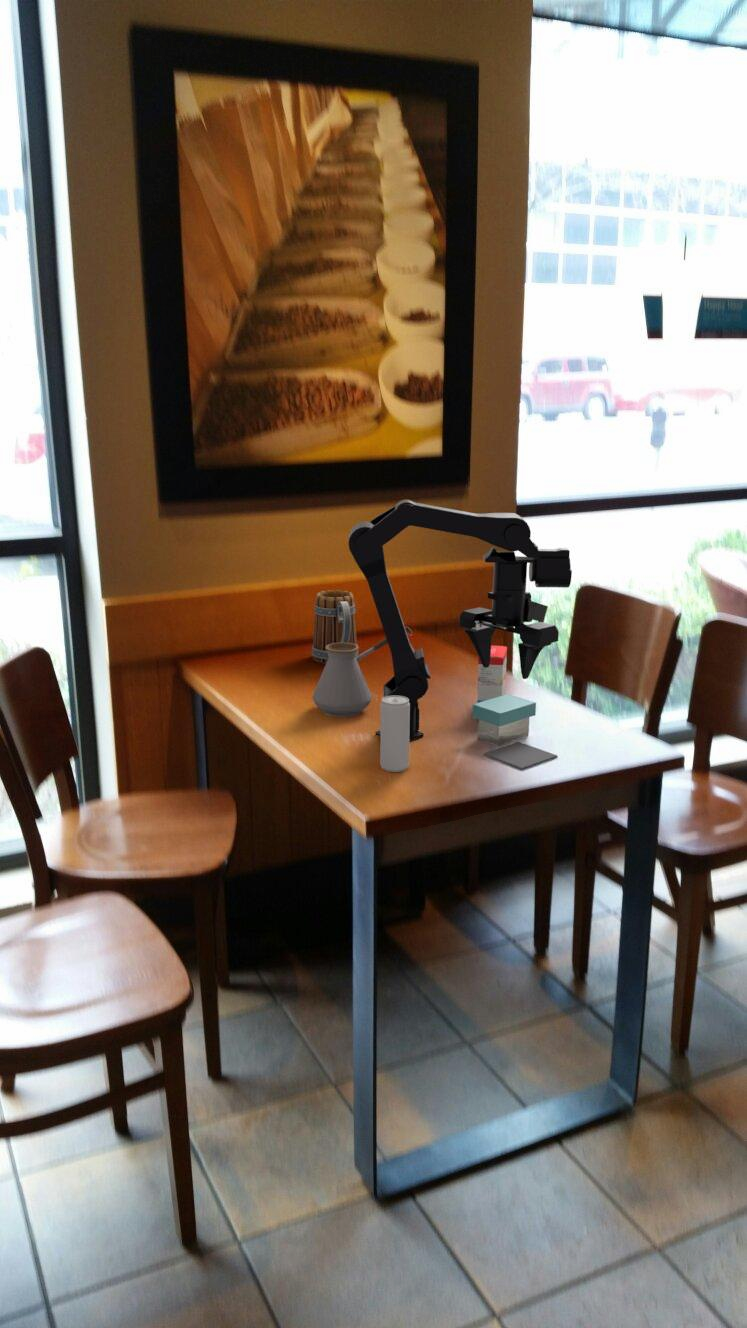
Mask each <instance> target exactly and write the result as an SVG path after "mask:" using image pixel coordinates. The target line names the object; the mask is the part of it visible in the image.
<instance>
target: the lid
mask: <svg viewBox="0 0 747 1328" xmlns="http://www.w3.org/2000/svg"><path fill="white" fill-rule="evenodd" d="M536 711H537V702H536V701H533V700H529V699H526V698H522V697H521V696H517V695H513V694H509V693H507V694H505V695H504V696H500V697H497V698H493V699H490V700H486V701H483V702H479V703H477V702H476V703H473V704H472V718H474V719H477V720H478V719H480V720H483V721H486V722H488V723H491V724H494V725H497V726H503V725H506V724H509V723H512V722H515V721H519V720H522V719H525V718H528V717H529V718H531V717H535V716H536V713H537V712H536Z"/></svg>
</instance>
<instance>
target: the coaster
mask: <svg viewBox="0 0 747 1328" xmlns="http://www.w3.org/2000/svg"><path fill="white" fill-rule="evenodd" d="M482 756H484V757H487V758H489V759H492V760H494V761H497V762H500V763H502V764H505V765H507V766H509V767H512V768H514V769H517V770H521V771H524V770H526V769H530V768H533V767H535V766H537V765H540V764H543V763H547V762H548V761H552V760H554V759H558V755H557V754H555V753H551V752H548V751H546V750H543V749H540V748H537V747H535V746H532V745H529V744H526V743H524V742H521V741H516V742H513V743H512V742H511V743H510V744H507V745H503V746H499V747H498V748H494V749H492V750H488V751H486V752H483V753H482Z"/></svg>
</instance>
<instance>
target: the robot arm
mask: <svg viewBox="0 0 747 1328" xmlns="http://www.w3.org/2000/svg"><path fill="white" fill-rule="evenodd" d="M409 526H412V527H417V528H424V529H430V530H435V531H440V532H445V533H450V534H456V535H462V536H469V537H473V538H476V539H479V540H481V541H484V542H486V543H489V544H491V545H493V546H491V548H490V549H489V551H487V552H486V553H485V554H483V556H482V558H483V561H484V562H485V563H487V564H489V563H492V564H493V580H492V591H489V592H487V599H489V600H491V601H492V602H491V609H488V608H485V607H475V608H474V607H473V608H469V609H465V610H462V612H460V615H459V616H458V621H459V622H458V626H459V627H461V628H464V629H463V632H464V633H466V634H467V636H468V638H469V640H470V641H471V643H472V645H473V647H474V649H475V651H476V654H477V655H478V658H480V660H481V662H482V665H483V667H484V668H487V667H489V664H490V656H491V646H492V638H493V635H494V634H495V632H496V630H502V631H504V632H509V633H513V634H516V635H519V639H520V640H521V642H520V643H518V655H519V656H518V657H519V664H520V672H521V673H520V674H521V678H522V679H523V680H527V679H529V676H530V674H531V672H532V669H534V668H533V667H534V665H535V662H536V661H537V658H538V656H539V655H540V653H541V651H542V650H543V649H544V648H545V647H548V646H550V645H552V643H556V642H559V635H560V634H559V633H560V631H559V628H558V627H557V626H556V625H554V624H551V623H548V622H544V621H545V620H546V619H545V618H546V615H547V611H548V605H544V604H543V603H539V602H535V601H532V594H531V592H528V591H527V573H528V578H529V582H530V583H531V582H534V585H535V587H536V588H570V586H571V583H572V575H573V574H572V573H573V570H572V569H571V568H572V567H571V558H570V553H571V551H570V550H569V548H568V547H559V548H551V549H550V548H539V547H538V545H537V544H536V543H535V542H533V541H532V539H531V534H532V533H531V529H530V528H531V527H530V526H529V524H528V522H527V521H526V520H525V519H524V518H523V517H522V516H521V515H519V514H517V513H515V512H489V513H474V512H469V511H464V510H457V509H453V508H448V507H443V506H442V507H441V506H436V505H431V504H430V505H429V504H427V503H426V504H425V503H420V502H415V501H412V500H410V499H403V500H400V501H398V502H397V503H396V504H395V505H394V506H392V507H391V508H389V509H387V510H386V511H384V512H382V513H380V514H378V515H377V516H376V517H374V518H373V519H371V520H370V521H361V522H358V523H357V524H356V523H355V525H354V526H353V527H352V528H351V529H350V532H349V535H348V549H349V552H350V553H351V555H352V557H353V559H354V561H355V563H356V564H357V567H358V568H359V570H360V571H361V573H362V574H363V577H364V578H365V580H366V581H367V584H368V588H369V589H370V593H371V596H372V599H373V602H374V606H375V608H376V611H377V615H378V617H379V620H380V624H381V626H382V629H383V632H384V635H385V638H386V639H387V642H388V647H389V650H390V654H391V661H392V667H393V668H392V669H393V676H392V677H391V678H390V679H389V680H388V681H387V682H385V684H384V685H383V697H386V696H392V695H398V696H404V697H407V698H408V699H409V703H410V730H409V741H412V740H415V739H418V738H422V737H424V736H425V734H424V732H422V731H420V708H419V701H418V700H420V699H422V698H423V697H424V696H425V695H426V693H427V691H428V690H429V682H428V679H429V680H430V679H431V678H432V677H431V673H430V667H429V666H428V665H427V663H426V662H425V661H426V660H425V657H424V656H425V655H424V651H423V648H422V647H421V648H419V649H417V650H415V648H414V647H413V645H412V643H411V642H410V639H409V636H408V633H407V632H406V630H405V627H406V626H405V625H404V621H403V618H402V615H401V611H400V608H399V606H398V605H399V604H398V602H397V599H396V596H395V593H394V590H393V587H392V584H391V581H390V578H389V575H388V572H387V566H386V565H387V564H386V559H385V551H384V550H385V549H384V545H386V544H387V543H388V542H390V541H391V540H393V538H395V537H396V536H398V535H399V534H400V533H401V532H402V531H404V530H405V529H406V528H408V527H409ZM495 546H496V547H498V548H501V549H503V550H506V551H499V550H497V549H496V548H495ZM515 552H519V553H520V554H523V555H524V556H516V553H515ZM528 563H529V567H528ZM533 621H536V622H534V623H532V622H533ZM525 623H528V624H525ZM375 736H378V737H380V730H377V731H375Z"/></svg>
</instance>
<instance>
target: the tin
mask: <svg viewBox="0 0 747 1328" xmlns="http://www.w3.org/2000/svg"><path fill="white" fill-rule="evenodd" d="M477 720H478V722H477V725H478V726H477V727H478V728H477V739H479V740H480V741H484V742H488V743H489V744H493V745H494V746H495V745H496V746H499V747H500V746H501V745H505V744H507V743H510V742H511V743H512V742H513V741H517V740H520V739H523V738H526V737H528V736H529V735H530V734H529V733H530V717H528V718H525V719H522V720H519V721H515V722H512V723H509V724H506V725H503V726H497V725H494V724H491V723H488V722H486V721H483V720H480V719H477Z"/></svg>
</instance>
